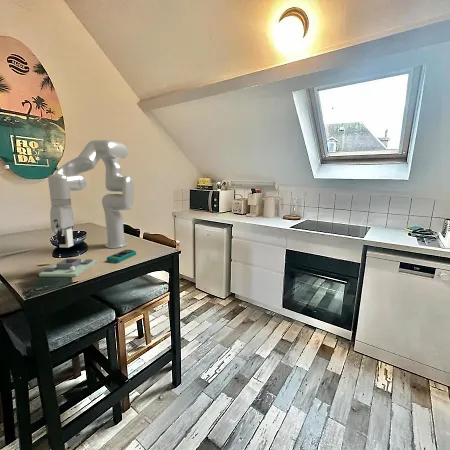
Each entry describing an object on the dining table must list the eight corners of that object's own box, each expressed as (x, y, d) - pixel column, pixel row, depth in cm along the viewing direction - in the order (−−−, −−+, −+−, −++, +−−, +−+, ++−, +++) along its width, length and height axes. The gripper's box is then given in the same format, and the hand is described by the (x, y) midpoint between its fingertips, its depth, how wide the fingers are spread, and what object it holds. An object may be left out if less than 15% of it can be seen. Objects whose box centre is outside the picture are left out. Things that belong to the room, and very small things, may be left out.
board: (64, 261, 129) (63, 254, 128) (96, 262, 129) (95, 255, 128) (39, 276, 111) (37, 268, 110) (75, 276, 111) (74, 268, 110)
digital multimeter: (137, 255, 141) (136, 249, 140) (118, 264, 127) (117, 258, 127) (126, 253, 143) (126, 248, 143) (106, 262, 130) (105, 256, 129)
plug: (65, 245, 119) (63, 228, 118) (73, 245, 119) (71, 228, 118) (58, 247, 114) (56, 230, 113) (67, 247, 114) (65, 230, 113)
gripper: (64, 201, 121) (68, 238, 125) (39, 205, 105) (44, 247, 108) (80, 201, 121) (84, 238, 125) (57, 205, 105) (62, 248, 108)
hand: (65, 242), depth 117 cm, fingers closed on plug, 4 cm apart
